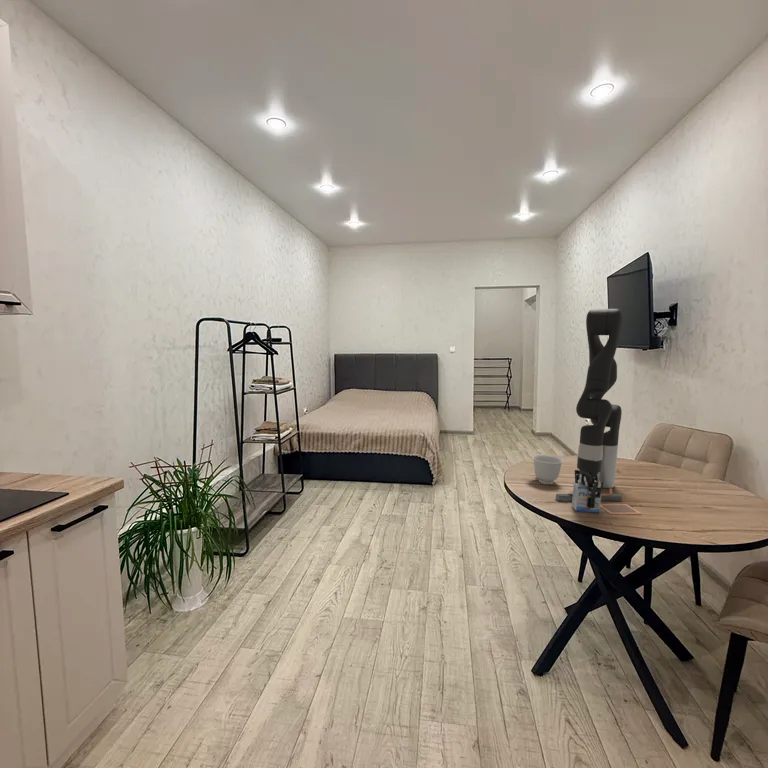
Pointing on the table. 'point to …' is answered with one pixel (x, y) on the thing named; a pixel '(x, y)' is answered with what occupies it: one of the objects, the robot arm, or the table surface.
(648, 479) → the table surface
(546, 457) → the teacup
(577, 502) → the medicine box
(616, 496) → the rail
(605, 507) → the pad
